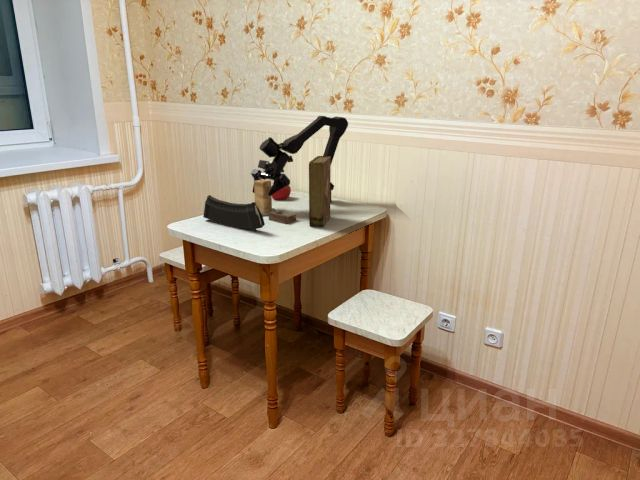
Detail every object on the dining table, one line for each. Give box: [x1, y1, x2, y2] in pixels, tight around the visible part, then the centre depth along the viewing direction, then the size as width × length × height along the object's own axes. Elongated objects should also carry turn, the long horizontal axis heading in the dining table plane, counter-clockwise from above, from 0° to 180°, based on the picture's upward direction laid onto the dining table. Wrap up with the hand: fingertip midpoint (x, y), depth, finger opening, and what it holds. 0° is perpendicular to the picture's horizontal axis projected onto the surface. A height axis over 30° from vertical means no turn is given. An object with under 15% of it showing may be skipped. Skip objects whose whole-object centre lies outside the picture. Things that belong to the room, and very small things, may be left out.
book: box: [308, 155, 332, 228], centre depth 187 cm, size 16×6×25 cm, turn 168°
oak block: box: [253, 179, 273, 213], centre depth 202 cm, size 5×5×13 cm
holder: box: [268, 210, 297, 225], centre depth 193 cm, size 7×9×3 cm
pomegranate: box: [271, 185, 292, 201], centre depth 227 cm, size 10×10×9 cm
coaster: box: [262, 207, 277, 217], centre depth 204 cm, size 11×11×1 cm
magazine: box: [202, 195, 266, 232], centre depth 185 cm, size 17×3×30 cm
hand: (260, 194), depth 201 cm, fingers open, 9 cm apart
